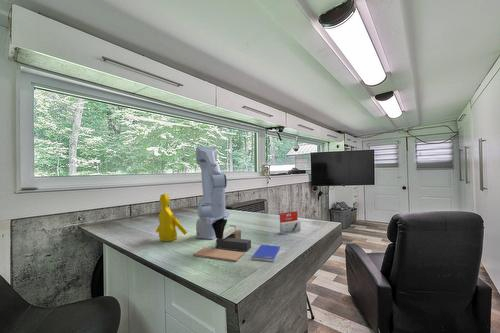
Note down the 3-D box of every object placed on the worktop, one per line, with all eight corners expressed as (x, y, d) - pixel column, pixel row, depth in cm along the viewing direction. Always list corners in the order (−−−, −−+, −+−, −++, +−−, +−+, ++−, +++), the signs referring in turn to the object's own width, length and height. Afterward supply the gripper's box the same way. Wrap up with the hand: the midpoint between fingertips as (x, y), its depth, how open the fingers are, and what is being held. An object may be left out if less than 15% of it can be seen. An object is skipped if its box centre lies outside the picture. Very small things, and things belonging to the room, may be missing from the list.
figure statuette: (189, 238, 102) (188, 192, 102) (179, 244, 94) (178, 194, 95) (159, 236, 107) (157, 192, 108) (147, 241, 100) (146, 194, 100)
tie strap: (217, 238, 87) (217, 231, 87) (232, 229, 99) (231, 223, 99) (224, 238, 86) (223, 231, 86) (237, 230, 98) (237, 223, 98)
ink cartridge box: (301, 230, 108) (300, 211, 109) (282, 234, 104) (281, 214, 104) (297, 229, 111) (297, 210, 111) (279, 233, 106) (279, 213, 106)
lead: (216, 248, 89) (216, 239, 89) (221, 245, 93) (220, 236, 93) (247, 252, 84) (247, 243, 84) (251, 248, 87) (250, 239, 87)
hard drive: (274, 258, 73) (280, 246, 85) (251, 256, 76) (260, 244, 88) (274, 263, 73) (280, 250, 85) (251, 260, 76) (260, 248, 88)
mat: (193, 255, 81) (193, 253, 81) (203, 249, 88) (203, 247, 88) (236, 261, 74) (236, 259, 74) (244, 254, 81) (244, 252, 81)
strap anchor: (225, 242, 95) (225, 233, 95) (231, 237, 101) (231, 229, 101) (235, 243, 93) (235, 233, 93) (241, 238, 99) (240, 230, 99)
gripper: (217, 207, 78) (218, 245, 78) (235, 201, 91) (236, 233, 91) (201, 207, 80) (202, 243, 80) (220, 201, 94) (221, 232, 94)
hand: (219, 238), depth 86 cm, fingers closed
